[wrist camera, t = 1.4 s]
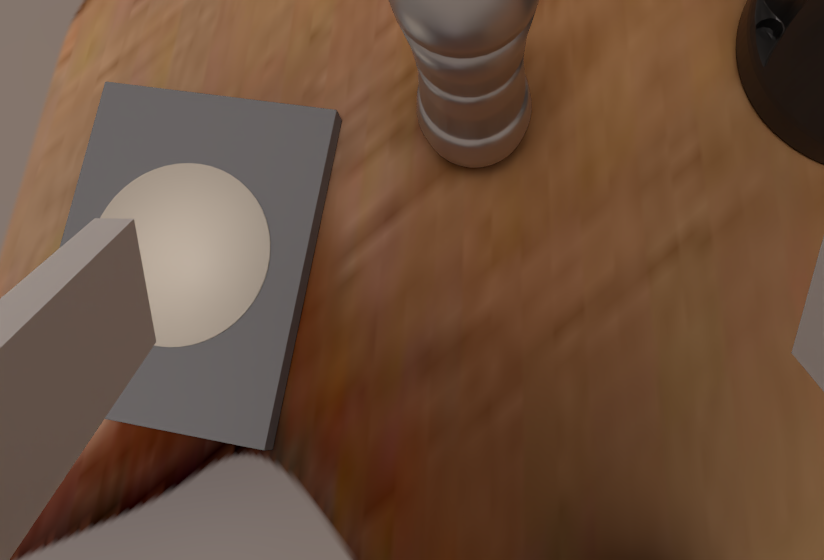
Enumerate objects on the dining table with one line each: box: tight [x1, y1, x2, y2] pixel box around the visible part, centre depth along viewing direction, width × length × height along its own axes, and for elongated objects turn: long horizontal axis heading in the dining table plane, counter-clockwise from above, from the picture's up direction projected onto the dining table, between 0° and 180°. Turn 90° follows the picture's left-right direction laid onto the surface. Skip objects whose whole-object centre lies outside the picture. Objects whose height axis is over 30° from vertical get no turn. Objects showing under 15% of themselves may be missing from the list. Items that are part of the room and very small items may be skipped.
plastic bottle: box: [389, 0, 539, 168], centre depth 33 cm, size 6×7×20 cm
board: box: [60, 82, 342, 450], centre depth 43 cm, size 20×15×2 cm
